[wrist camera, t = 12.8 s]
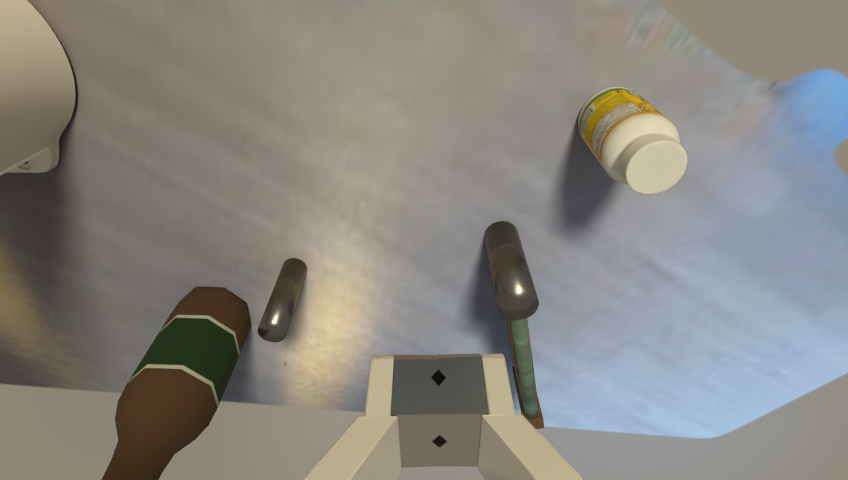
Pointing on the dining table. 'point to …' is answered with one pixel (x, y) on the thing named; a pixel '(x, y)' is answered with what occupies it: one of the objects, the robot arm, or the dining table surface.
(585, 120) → the supplement bottle
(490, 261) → the posts
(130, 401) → the beer bottle
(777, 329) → the dining table surface
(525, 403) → the brown wooden panel
